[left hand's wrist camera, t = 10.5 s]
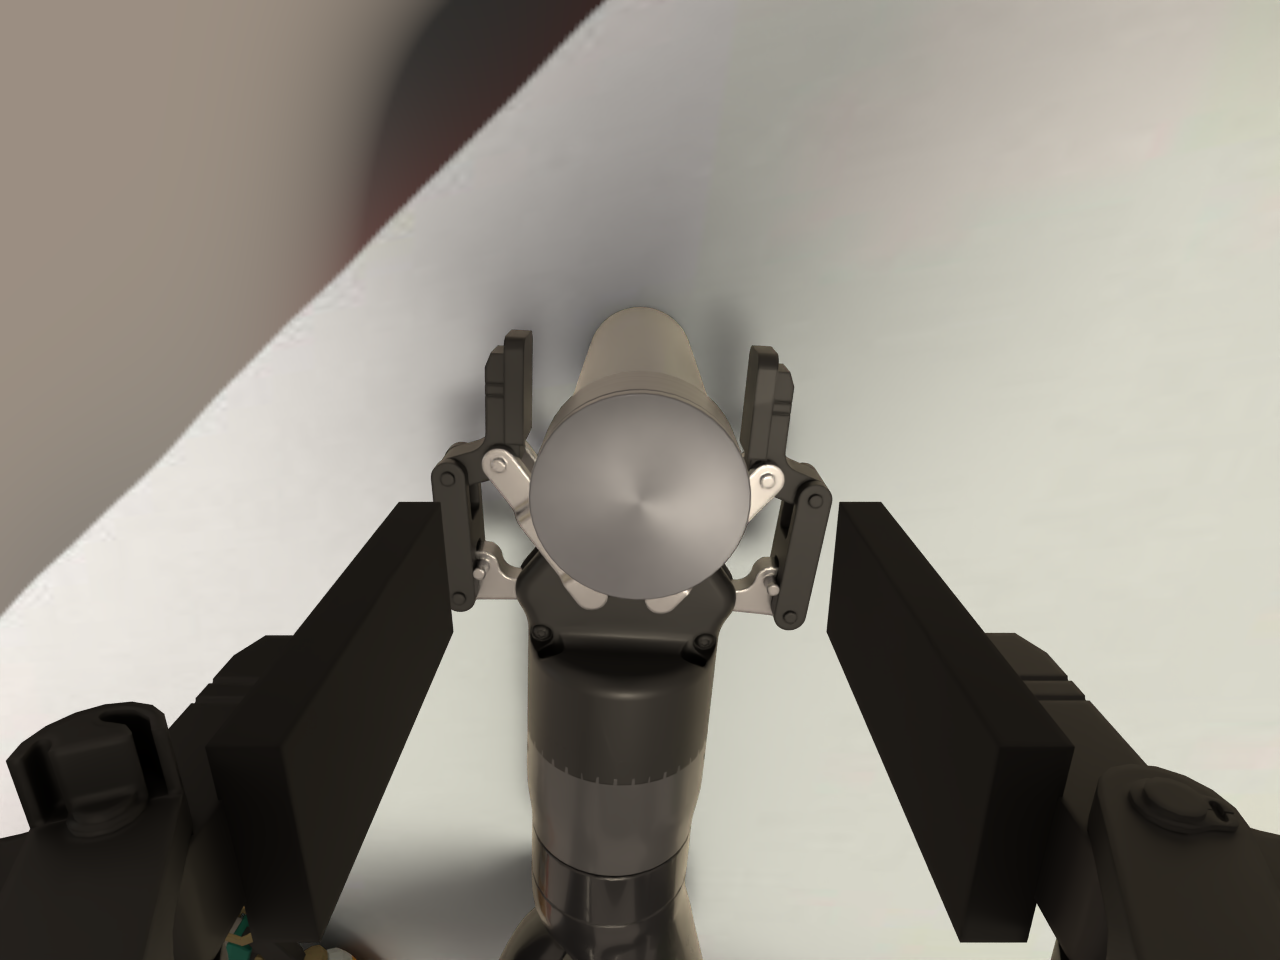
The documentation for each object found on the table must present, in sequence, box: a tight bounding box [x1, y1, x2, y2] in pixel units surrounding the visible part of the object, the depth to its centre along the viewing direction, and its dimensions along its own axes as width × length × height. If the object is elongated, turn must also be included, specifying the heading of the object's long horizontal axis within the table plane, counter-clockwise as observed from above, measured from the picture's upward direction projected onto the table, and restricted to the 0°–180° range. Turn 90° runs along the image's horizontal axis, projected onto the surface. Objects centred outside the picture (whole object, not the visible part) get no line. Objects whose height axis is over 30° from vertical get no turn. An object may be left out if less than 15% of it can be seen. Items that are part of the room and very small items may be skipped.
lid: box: [529, 371, 751, 600], centre depth 18 cm, size 5×5×2 cm
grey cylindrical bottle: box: [573, 307, 707, 395], centre depth 25 cm, size 4×4×16 cm
